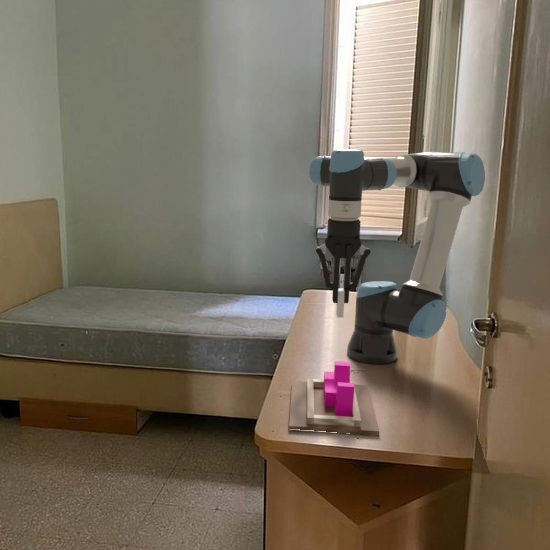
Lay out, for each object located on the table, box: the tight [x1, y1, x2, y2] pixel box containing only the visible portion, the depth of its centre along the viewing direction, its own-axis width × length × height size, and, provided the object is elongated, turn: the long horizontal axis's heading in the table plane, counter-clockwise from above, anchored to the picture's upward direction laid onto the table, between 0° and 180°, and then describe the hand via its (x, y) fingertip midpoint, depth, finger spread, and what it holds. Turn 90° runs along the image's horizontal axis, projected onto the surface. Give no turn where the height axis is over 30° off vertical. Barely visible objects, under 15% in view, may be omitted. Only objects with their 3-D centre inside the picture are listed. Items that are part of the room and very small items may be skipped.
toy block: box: [323, 360, 355, 417], centre depth 131 cm, size 15×6×8 cm, turn 177°
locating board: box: [288, 378, 380, 436], centre depth 131 cm, size 20×24×3 cm
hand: (339, 315), depth 129 cm, fingers closed
